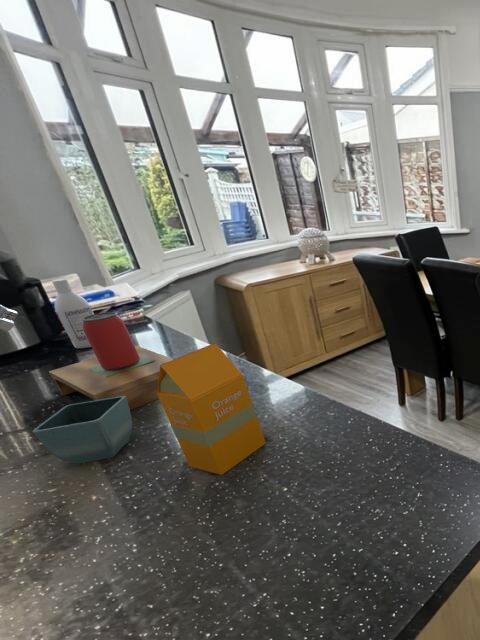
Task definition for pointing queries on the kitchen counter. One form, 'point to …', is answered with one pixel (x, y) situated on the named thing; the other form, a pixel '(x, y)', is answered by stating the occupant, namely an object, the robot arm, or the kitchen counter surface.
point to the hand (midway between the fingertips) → (14, 321)
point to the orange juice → (209, 409)
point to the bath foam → (72, 312)
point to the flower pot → (87, 430)
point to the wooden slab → (114, 379)
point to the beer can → (110, 340)
